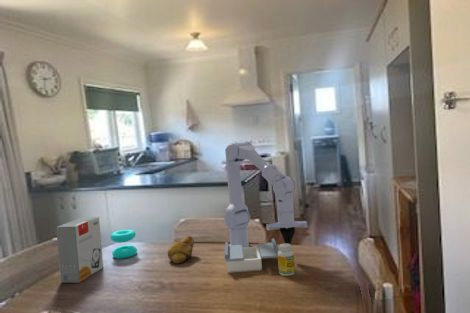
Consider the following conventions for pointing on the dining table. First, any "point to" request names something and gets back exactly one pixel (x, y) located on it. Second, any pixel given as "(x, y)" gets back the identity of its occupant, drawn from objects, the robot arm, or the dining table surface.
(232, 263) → the carton
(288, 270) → the supplement bottle
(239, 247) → the flap
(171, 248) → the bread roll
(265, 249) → the flap
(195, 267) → the dining table surface
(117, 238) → the donuts
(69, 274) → the hard drive box
